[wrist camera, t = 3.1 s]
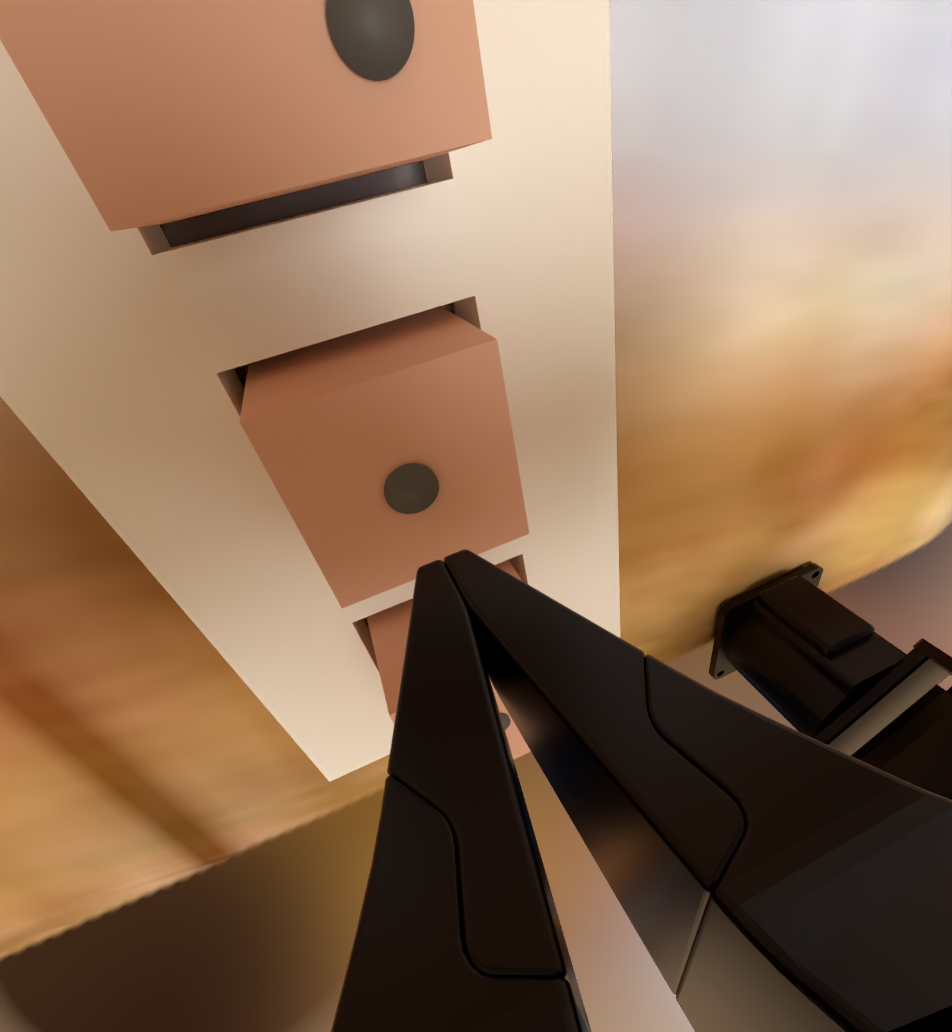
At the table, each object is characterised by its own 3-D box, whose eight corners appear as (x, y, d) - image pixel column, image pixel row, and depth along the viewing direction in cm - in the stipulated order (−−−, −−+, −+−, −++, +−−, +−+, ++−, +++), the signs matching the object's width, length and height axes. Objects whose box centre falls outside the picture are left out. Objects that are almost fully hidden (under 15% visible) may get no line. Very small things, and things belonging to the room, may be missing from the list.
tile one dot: (476, 466, 15) (530, 535, 12) (327, 521, 14) (342, 611, 11) (439, 305, 12) (498, 340, 9) (248, 363, 11) (239, 423, 8)
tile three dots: (524, 644, 19) (575, 733, 16) (408, 695, 18) (437, 800, 15) (505, 554, 16) (562, 641, 13) (365, 611, 15) (389, 718, 12)
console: (595, 616, 22) (620, 647, 20) (325, 736, 20) (329, 781, 18) (525, -462, 7) (596, -651, 6) (-581, -445, 5) (-978, -746, 3)
